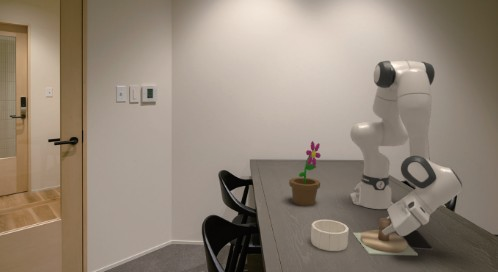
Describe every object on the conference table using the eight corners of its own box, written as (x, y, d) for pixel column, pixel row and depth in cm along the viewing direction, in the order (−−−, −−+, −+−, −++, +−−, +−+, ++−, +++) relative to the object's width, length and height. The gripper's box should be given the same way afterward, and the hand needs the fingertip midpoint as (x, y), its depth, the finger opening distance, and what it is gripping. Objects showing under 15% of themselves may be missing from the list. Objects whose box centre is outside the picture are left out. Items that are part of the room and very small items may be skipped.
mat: (352, 233, 124) (352, 232, 124) (395, 234, 125) (395, 233, 125) (369, 254, 108) (369, 253, 108) (417, 255, 109) (417, 254, 109)
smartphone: (411, 247, 114) (397, 228, 129) (410, 250, 114) (396, 231, 129) (433, 249, 113) (416, 229, 128) (433, 252, 113) (416, 232, 128)
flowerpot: (308, 209, 149) (311, 143, 145) (282, 202, 158) (285, 139, 154) (324, 202, 159) (328, 140, 155) (299, 195, 169) (302, 136, 165)
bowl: (308, 235, 122) (309, 219, 121) (341, 235, 122) (342, 220, 121) (315, 250, 110) (316, 233, 109) (351, 251, 110) (352, 234, 110)
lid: (354, 232, 124) (356, 211, 123) (394, 233, 124) (396, 212, 123) (370, 252, 109) (372, 228, 108) (415, 252, 109) (418, 229, 108)
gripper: (404, 190, 123) (373, 212, 126) (415, 208, 103) (378, 234, 107) (416, 203, 122) (385, 225, 126) (429, 224, 102) (392, 250, 106)
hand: (382, 230), depth 116 cm, fingers closed on lid, 4 cm apart
